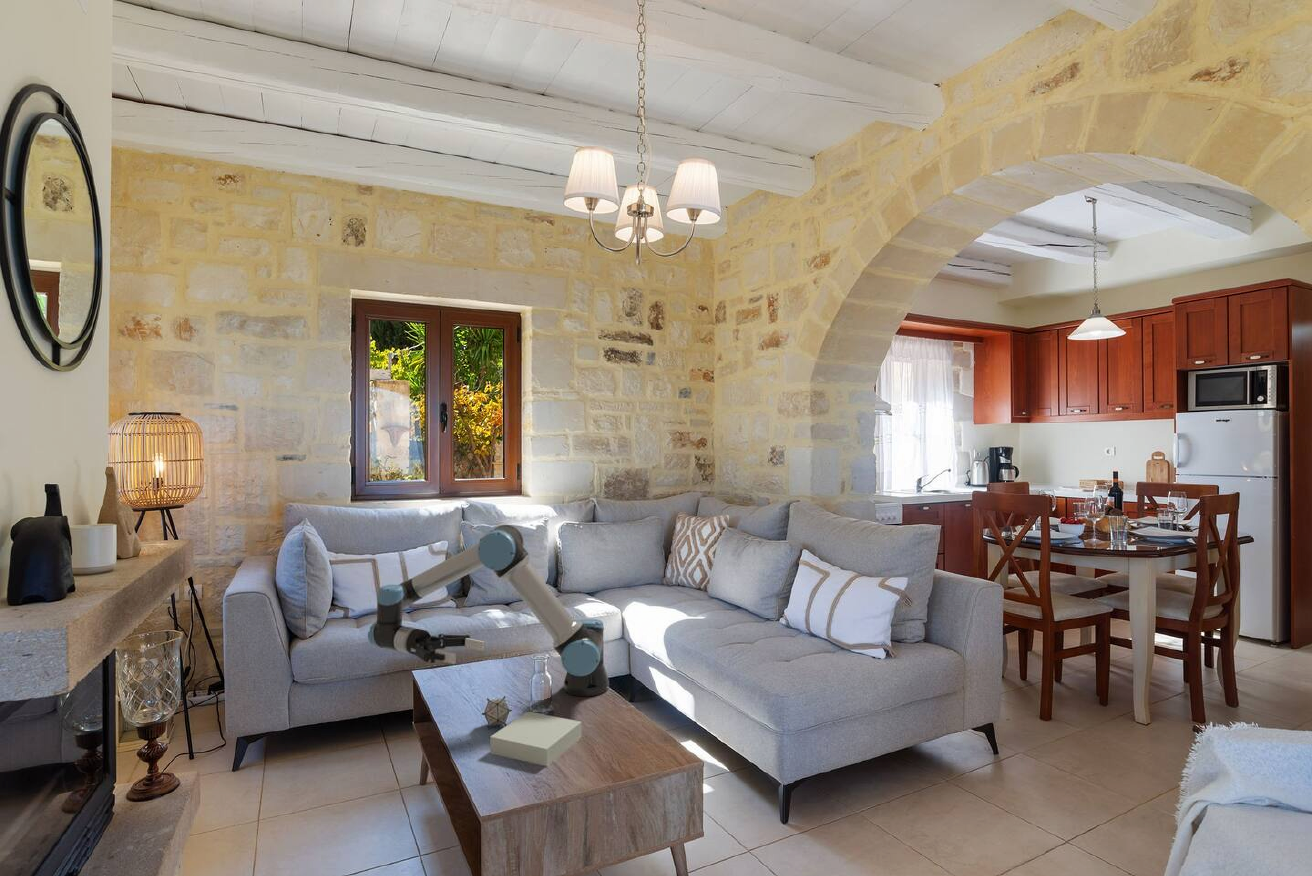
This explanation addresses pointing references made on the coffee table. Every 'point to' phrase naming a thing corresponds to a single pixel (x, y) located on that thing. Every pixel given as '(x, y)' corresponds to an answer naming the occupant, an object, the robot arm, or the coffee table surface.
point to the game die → (496, 712)
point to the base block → (536, 738)
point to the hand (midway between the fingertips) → (469, 652)
